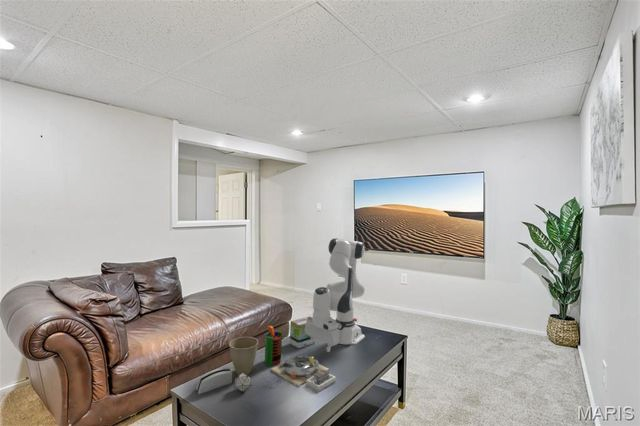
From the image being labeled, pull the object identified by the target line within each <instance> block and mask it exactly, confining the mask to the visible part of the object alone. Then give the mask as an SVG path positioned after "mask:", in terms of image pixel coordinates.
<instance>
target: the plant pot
mask: <svg viewBox="0 0 640 426" xmlns="http://www.w3.org/2000/svg"><path fill="white" fill-rule="evenodd" d="M228 345H229V352H230V357H231V361H232V364H233V368H234V370H235V373H236V374H237V375H238V376H239V375H240V374H241V373H242V371H243V373H244V374H246V375H249V374H251V371H252V369H253V366H254V363H255V361H256V356H257V352H258V346H259V340H258V339H257V338H255V337H252V336H240V337H236V338H233V339H232V340H231V341H229V344H228Z"/></svg>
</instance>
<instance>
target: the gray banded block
mask: <svg viewBox="0 0 640 426" xmlns="http://www.w3.org/2000/svg"><path fill="white" fill-rule="evenodd" d="M329 374H330V372H329V371H326V370H324V369H323V370H322V371H320V372H318V373H316V374H314V383H315V384H317V385H320V384H322V383H324V382H326V381H327V380H329Z"/></svg>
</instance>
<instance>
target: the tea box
mask: <svg viewBox="0 0 640 426" xmlns="http://www.w3.org/2000/svg"><path fill="white" fill-rule="evenodd" d="M307 317H308V316H306V317H302V318H297V319H294V320H290V324H289V325H290V328H289V329H290V330H289V344H290V345H292V346H294V347H295V348H297V349H300V348H303V347H306V346H310V345H312V341H311V338H310V336H309V335H307V334H306V333H305V326H306V322H307ZM315 341H316V342H318V339H316V338H315Z"/></svg>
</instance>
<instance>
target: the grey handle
mask: <svg viewBox="0 0 640 426" xmlns="http://www.w3.org/2000/svg"><path fill="white" fill-rule="evenodd" d="M232 382H233V372H232V369H231V368H229V367H221V368H220V367H219V368H216V369H213V370H210V371H208V372H206V373H204V374H203V375H201V376H200V377H199V379H198V382H197V385H196V387H195V390H196V391H198V392H197V394H198V395H201V394H204V393H208V392H210V391H212V390H215V389H218V388H221V387H223V386H226V385H229V384H232Z"/></svg>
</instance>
